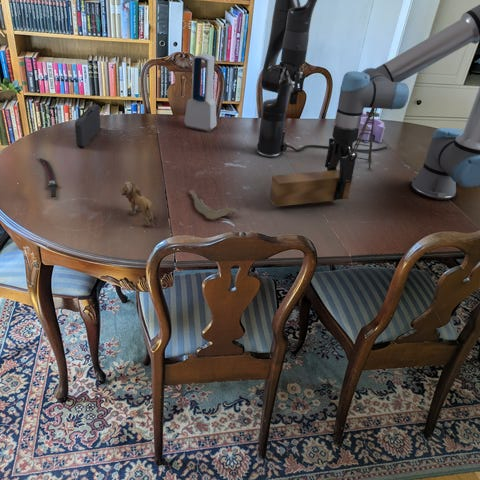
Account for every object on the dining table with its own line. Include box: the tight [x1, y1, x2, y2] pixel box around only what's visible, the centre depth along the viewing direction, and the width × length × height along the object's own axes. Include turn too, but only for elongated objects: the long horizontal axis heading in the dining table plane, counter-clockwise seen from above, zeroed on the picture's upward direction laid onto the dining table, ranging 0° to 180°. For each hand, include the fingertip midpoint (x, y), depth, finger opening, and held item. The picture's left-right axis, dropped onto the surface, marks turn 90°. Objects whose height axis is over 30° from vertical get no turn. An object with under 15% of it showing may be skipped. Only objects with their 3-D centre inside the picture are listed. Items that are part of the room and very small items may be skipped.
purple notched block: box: [357, 112, 386, 143], centre depth 214 cm, size 20×12×7 cm, turn 11°
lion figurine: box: [119, 181, 159, 227], centre depth 134 cm, size 15×5×9 cm, turn 50°
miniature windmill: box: [352, 108, 381, 170], centre depth 177 cm, size 9×8×30 cm
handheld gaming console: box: [74, 103, 101, 148], centre depth 180 cm, size 23×3×10 cm, turn 178°
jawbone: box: [188, 189, 239, 221], centre depth 143 cm, size 9×20×2 cm, turn 50°
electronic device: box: [183, 53, 218, 133], centre depth 195 cm, size 12×8×30 cm, turn 71°
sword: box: [40, 158, 59, 198], centre depth 151 cm, size 31×3×1 cm, turn 26°
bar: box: [269, 169, 354, 207], centre depth 148 cm, size 26×6×8 cm, turn 109°
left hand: (287, 100), depth 150 cm, fingers open, 8 cm apart
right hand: (333, 194), depth 153 cm, fingers closed on bar, 5 cm apart
